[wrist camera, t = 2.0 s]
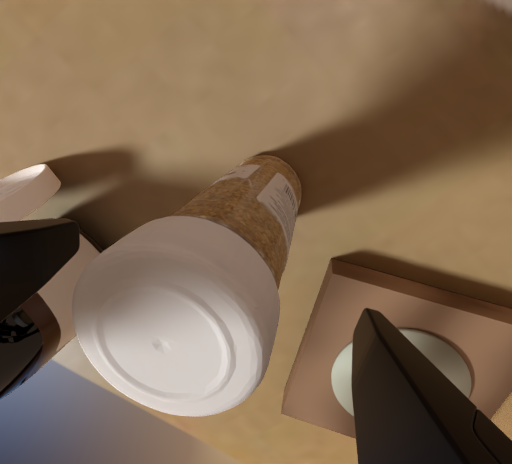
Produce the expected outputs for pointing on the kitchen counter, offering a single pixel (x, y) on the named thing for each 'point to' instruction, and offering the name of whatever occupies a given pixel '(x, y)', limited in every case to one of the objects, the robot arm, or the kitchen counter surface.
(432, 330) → the walnut plinth
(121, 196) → the kitchen counter surface
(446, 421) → the robot arm
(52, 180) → the spread jar
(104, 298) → the sprinkles bottle
